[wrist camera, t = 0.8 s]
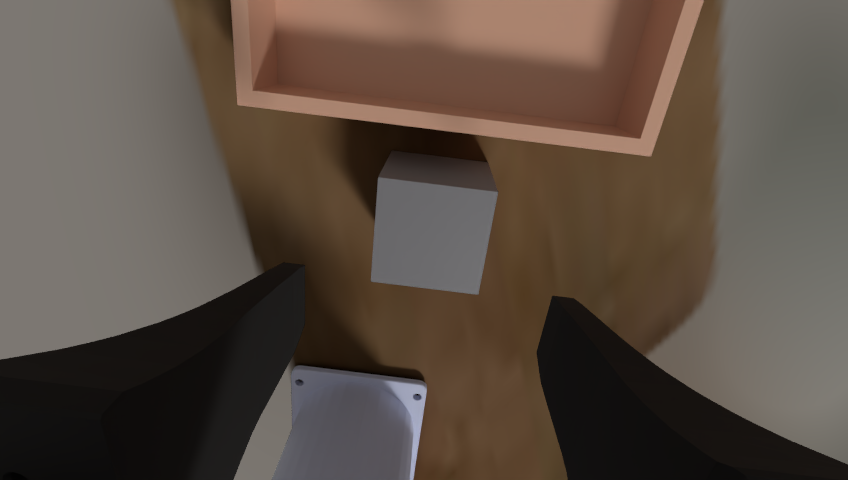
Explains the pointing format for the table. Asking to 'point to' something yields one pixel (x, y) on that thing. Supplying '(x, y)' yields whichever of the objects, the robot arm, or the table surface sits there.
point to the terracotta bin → (471, 65)
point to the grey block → (432, 222)
